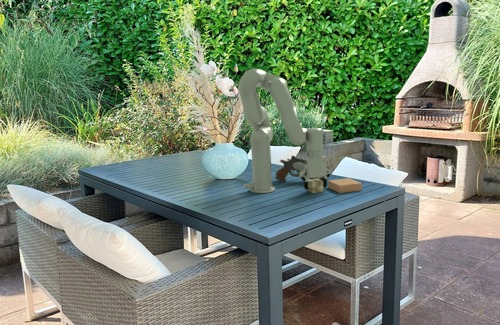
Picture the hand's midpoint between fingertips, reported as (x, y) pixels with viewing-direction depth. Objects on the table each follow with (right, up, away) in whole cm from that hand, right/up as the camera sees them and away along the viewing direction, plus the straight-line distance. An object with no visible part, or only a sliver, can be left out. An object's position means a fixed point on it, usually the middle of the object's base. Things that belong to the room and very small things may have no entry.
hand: (315, 188), depth 209 cm
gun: (-4, +2, +22) cm, 22 cm away
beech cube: (0, -2, 0) cm, 2 cm away
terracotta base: (+15, -1, +3) cm, 15 cm away
